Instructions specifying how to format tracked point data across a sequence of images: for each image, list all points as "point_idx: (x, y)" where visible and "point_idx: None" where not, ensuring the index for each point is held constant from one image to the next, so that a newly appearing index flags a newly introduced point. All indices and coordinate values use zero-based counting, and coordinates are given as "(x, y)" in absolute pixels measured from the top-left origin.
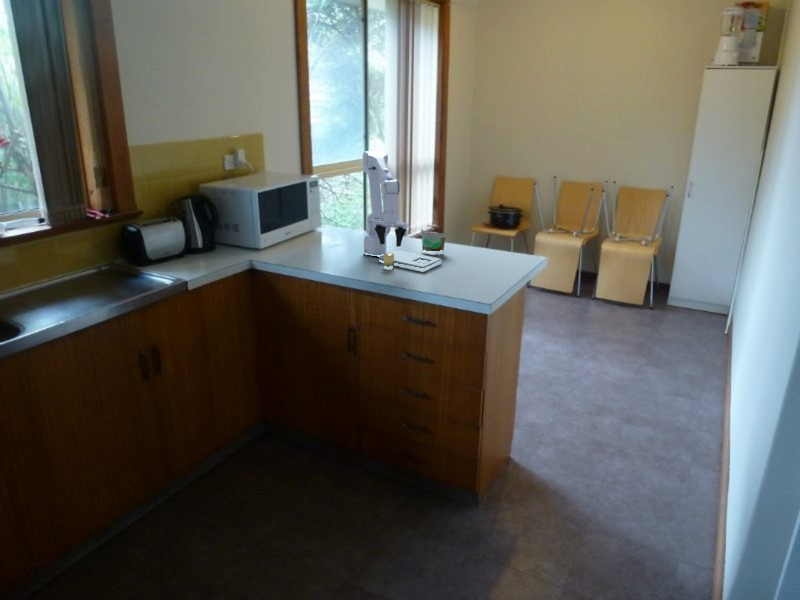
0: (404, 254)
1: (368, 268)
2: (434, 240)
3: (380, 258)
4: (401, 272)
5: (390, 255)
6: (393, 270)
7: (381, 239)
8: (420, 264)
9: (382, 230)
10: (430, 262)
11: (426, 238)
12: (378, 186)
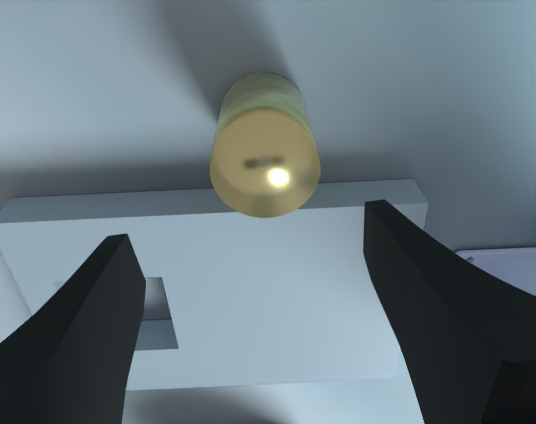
0: (301, 341)
1: (411, 3)
2: None
3: (406, 199)
4: (120, 105)
5: (227, 156)
6: (203, 104)
7: (390, 246)
8: (49, 251)
9: (447, 396)
10: None
11: None
12: None
